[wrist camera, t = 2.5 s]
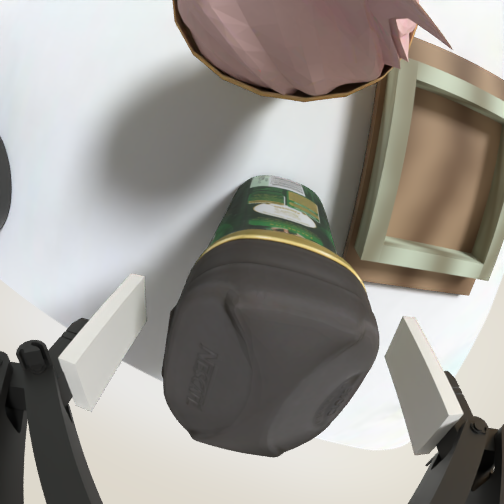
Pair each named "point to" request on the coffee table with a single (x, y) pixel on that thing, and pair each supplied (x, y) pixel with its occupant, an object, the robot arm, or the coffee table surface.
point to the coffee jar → (268, 326)
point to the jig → (431, 176)
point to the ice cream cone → (301, 42)
